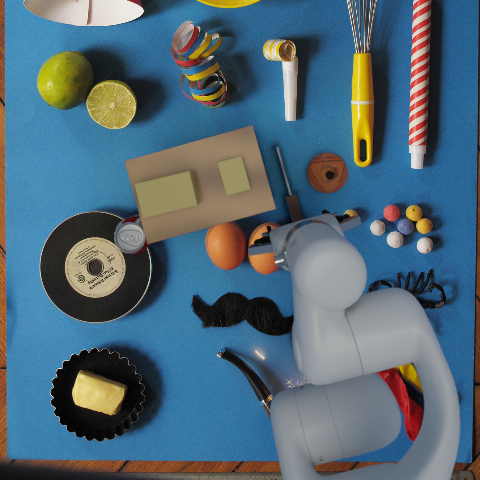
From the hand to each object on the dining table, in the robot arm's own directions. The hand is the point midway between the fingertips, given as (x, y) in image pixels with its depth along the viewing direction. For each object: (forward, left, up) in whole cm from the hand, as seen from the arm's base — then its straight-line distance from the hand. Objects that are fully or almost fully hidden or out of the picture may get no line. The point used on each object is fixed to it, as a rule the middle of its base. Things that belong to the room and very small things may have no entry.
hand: (298, 226), depth 70 cm
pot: (+6, -9, -15) cm, 19 cm away
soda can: (+5, +29, -15) cm, 33 cm away
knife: (+4, -1, -15) cm, 15 cm away
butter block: (+11, +18, +8) cm, 22 cm away
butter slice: (+11, +9, +9) cm, 17 cm away
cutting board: (+11, +13, -15) cm, 23 cm away
